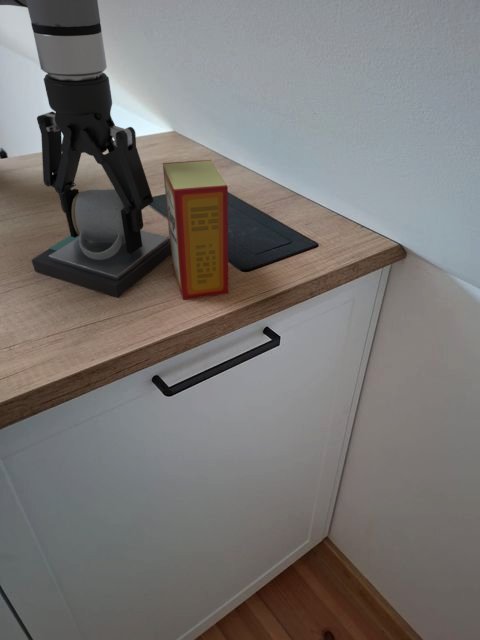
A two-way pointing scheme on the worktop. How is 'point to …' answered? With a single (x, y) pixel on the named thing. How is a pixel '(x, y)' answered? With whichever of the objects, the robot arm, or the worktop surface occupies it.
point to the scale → (93, 280)
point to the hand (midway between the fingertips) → (106, 241)
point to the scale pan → (111, 266)
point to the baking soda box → (197, 227)
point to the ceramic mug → (98, 220)
